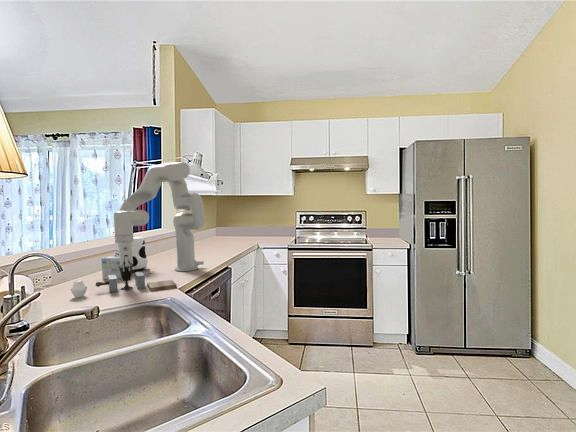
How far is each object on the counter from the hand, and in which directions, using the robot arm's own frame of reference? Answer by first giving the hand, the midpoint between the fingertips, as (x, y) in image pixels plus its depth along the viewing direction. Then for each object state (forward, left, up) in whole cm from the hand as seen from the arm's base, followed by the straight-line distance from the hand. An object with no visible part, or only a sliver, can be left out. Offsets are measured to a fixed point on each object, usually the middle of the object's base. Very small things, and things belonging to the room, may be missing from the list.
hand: (126, 278), depth 171 cm
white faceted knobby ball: (+19, +4, -5) cm, 20 cm away
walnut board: (-14, +6, -4) cm, 16 cm away
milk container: (-6, -46, -5) cm, 47 cm away
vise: (+3, 0, -4) cm, 5 cm away
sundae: (0, 0, -5) cm, 5 cm away
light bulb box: (+3, -30, -5) cm, 31 cm away
